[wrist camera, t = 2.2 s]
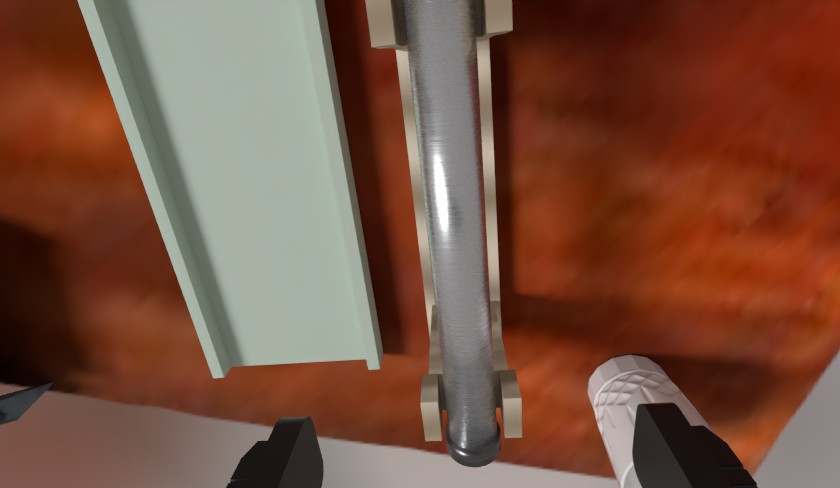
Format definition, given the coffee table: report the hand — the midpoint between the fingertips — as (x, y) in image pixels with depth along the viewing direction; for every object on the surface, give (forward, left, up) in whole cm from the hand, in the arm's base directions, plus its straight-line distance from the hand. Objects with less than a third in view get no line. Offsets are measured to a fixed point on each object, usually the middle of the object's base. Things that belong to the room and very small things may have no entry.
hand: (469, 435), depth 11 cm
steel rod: (0, 0, -13) cm, 13 cm away
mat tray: (0, -15, -24) cm, 28 cm away
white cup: (+20, +14, -24) cm, 34 cm away
